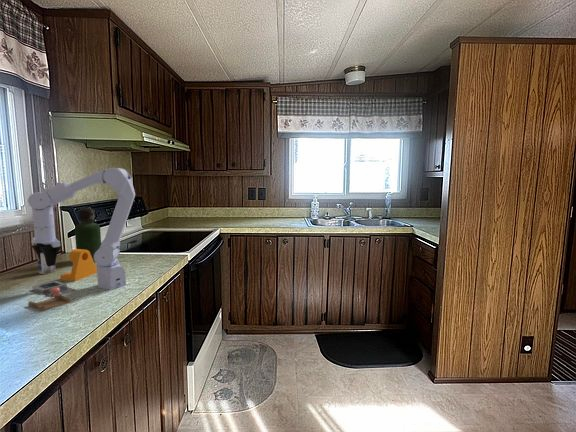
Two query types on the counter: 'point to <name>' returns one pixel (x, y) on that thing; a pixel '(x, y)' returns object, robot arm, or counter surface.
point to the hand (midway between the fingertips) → (48, 264)
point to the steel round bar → (45, 265)
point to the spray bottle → (87, 232)
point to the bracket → (80, 265)
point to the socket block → (47, 287)
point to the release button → (55, 291)
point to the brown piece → (50, 303)
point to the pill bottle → (41, 267)
